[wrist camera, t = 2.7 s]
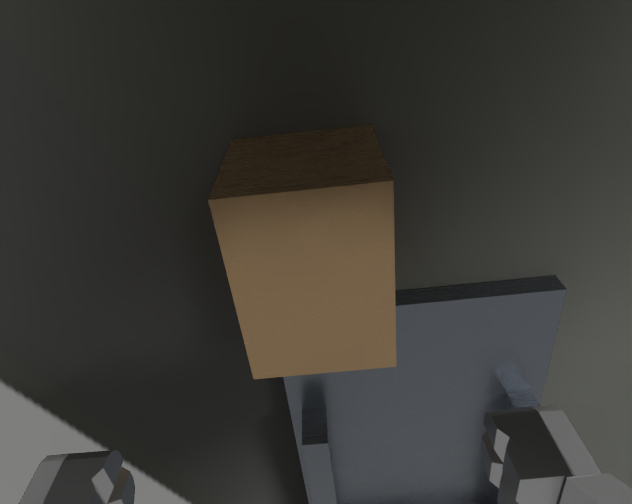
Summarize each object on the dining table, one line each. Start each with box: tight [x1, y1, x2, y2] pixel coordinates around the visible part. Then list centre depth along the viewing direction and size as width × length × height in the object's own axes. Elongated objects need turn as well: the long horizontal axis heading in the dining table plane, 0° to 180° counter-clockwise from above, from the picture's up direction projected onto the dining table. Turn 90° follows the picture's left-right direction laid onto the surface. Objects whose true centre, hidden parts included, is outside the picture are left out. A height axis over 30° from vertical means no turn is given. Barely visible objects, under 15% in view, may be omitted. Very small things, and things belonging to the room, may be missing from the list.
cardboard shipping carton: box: [208, 124, 396, 379], centre depth 16 cm, size 5×7×5 cm
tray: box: [283, 276, 567, 504], centre depth 24 cm, size 12×20×4 cm, turn 6°
